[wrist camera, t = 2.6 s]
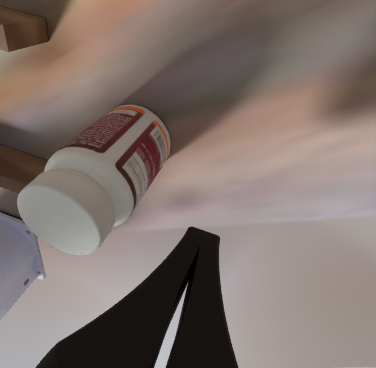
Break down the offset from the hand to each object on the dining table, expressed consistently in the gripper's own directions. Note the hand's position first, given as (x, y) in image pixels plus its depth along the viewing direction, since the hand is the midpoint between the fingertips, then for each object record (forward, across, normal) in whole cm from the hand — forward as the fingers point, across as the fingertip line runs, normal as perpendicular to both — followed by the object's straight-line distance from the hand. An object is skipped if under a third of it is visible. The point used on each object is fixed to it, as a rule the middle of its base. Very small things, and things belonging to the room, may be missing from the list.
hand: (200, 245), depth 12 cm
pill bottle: (+7, +6, 0) cm, 9 cm away
